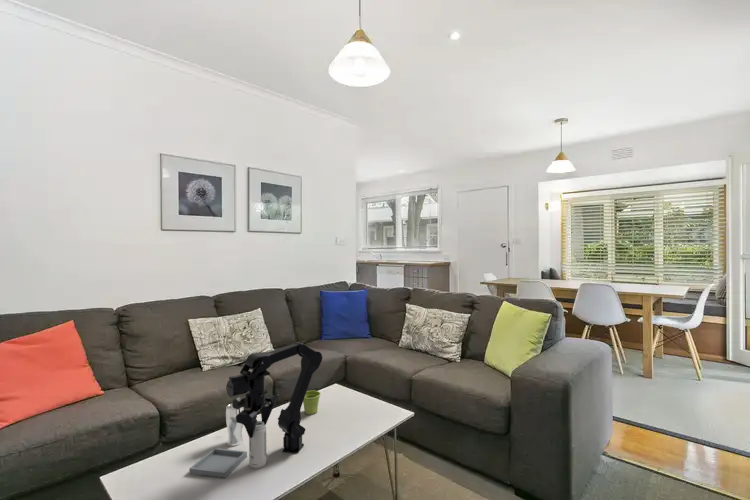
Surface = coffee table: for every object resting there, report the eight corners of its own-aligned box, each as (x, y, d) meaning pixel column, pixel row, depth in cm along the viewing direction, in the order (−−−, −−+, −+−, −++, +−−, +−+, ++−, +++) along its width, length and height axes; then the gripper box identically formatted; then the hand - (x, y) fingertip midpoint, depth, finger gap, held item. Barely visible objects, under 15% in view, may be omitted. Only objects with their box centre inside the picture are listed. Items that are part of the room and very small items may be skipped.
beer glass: (238, 447, 151) (237, 410, 151) (222, 445, 152) (222, 408, 152) (247, 438, 157) (247, 403, 157) (232, 437, 159) (232, 401, 159)
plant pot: (319, 416, 178) (318, 397, 178) (299, 416, 178) (299, 398, 178) (322, 407, 187) (322, 390, 187) (303, 407, 187) (303, 390, 187)
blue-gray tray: (246, 456, 144) (246, 451, 144) (224, 478, 130) (224, 473, 130) (214, 453, 147) (214, 447, 147) (189, 474, 133) (189, 468, 133)
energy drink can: (248, 462, 140) (248, 422, 140) (265, 458, 142) (264, 419, 142) (250, 471, 134) (249, 429, 134) (267, 467, 137) (267, 425, 137)
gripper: (250, 379, 149) (251, 418, 149) (221, 397, 131) (222, 442, 131) (276, 380, 147) (277, 420, 147) (250, 399, 128) (251, 445, 129)
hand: (257, 431), depth 138 cm, fingers open, 9 cm apart
